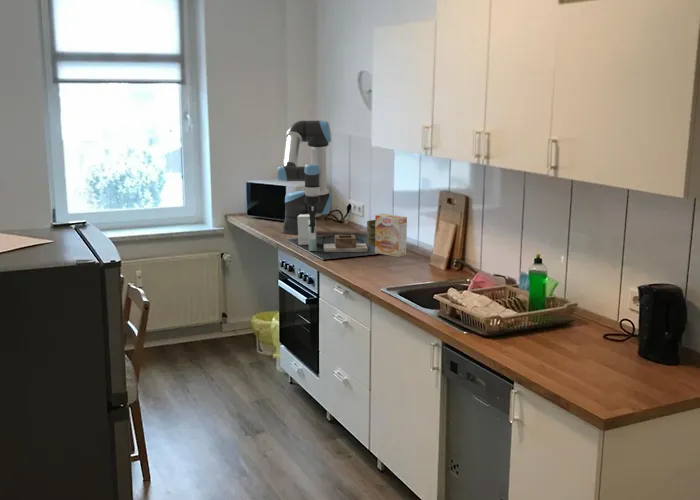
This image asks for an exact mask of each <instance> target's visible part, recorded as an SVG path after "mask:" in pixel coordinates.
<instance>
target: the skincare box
mask: <svg viewBox="0 0 700 500" xmlns="http://www.w3.org/2000/svg"><path fill="white" fill-rule="evenodd" d="M297 218H298V234H297V236H298V237H297V239H298V245H299V246H309V232H308V220H310V219H309V218H310V215H309V214H305V215H299V216H298V217H297Z"/></svg>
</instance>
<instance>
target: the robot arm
mask: <svg viewBox="0 0 700 500" xmlns="http://www.w3.org/2000/svg"><path fill="white" fill-rule="evenodd" d="M331 142H332V133H331V127H330V123H329V121H326V120H299V121H296V122H294V123H292V124H291V125H290V126H289V127H288V129H287V130H286V132H285V134H284V143H285V147H284V152H283V160H282V165H281V166H278V167H277V180H278V181H280V182H304V188H303V190H300V191H298V190H297V191H292V192H288V193H286V194H285V197H284V207H285V209H284V216H285V217H284V221H283V225H282V230H281V231H282V233H283V234H288V235H298V218H297V217H298V216H299V215H310V218H309V219H310V225H309V227H310V239H315V220H316V221H317V219H316V215H328V214H329V213H330V211H331V203H332V197H333V196H332V195H333V194H332V193H330V190H329V189H328V188H327V148H328V146H329V144H330V143H331ZM302 143H307V146H308V148H310V163H309V164H305V165H304V166H298V163H299V162H298V161H299V153H300V152H299V151H300V145H301V144H302Z"/></svg>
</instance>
